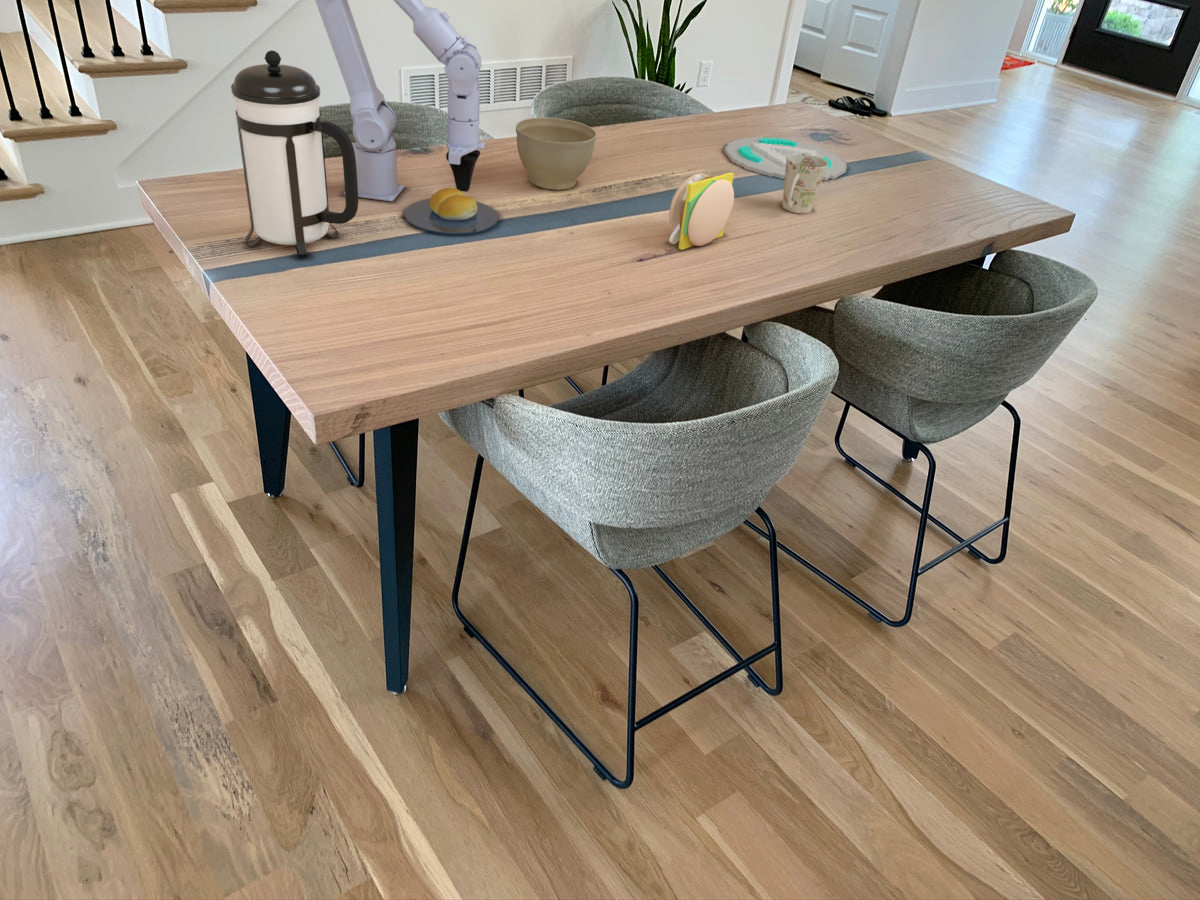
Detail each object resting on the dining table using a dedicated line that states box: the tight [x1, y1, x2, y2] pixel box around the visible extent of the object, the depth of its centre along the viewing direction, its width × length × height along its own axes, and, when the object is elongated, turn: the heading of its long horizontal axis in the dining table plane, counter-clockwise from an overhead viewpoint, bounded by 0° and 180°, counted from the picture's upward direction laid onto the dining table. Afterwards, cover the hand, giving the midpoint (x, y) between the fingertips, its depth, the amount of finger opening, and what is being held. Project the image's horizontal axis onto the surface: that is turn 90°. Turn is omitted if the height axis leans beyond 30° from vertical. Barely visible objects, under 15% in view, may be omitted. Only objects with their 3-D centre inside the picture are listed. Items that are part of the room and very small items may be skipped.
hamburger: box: [668, 172, 735, 251], centre depth 165 cm, size 12×8×12 cm
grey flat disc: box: [723, 136, 848, 182], centre depth 212 cm, size 28×28×2 cm
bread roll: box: [429, 187, 477, 221], centre depth 165 cm, size 8×9×4 cm
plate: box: [404, 198, 499, 237], centre depth 165 cm, size 17×17×1 cm
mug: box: [781, 154, 828, 214], centre depth 182 cm, size 8×13×10 cm, turn 155°
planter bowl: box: [515, 117, 598, 191], centre depth 182 cm, size 16×16×11 cm
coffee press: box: [230, 50, 359, 259], centre depth 142 cm, size 17×16×30 cm
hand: (463, 190), depth 172 cm, fingers closed
